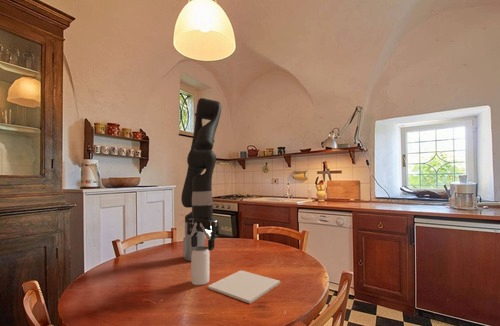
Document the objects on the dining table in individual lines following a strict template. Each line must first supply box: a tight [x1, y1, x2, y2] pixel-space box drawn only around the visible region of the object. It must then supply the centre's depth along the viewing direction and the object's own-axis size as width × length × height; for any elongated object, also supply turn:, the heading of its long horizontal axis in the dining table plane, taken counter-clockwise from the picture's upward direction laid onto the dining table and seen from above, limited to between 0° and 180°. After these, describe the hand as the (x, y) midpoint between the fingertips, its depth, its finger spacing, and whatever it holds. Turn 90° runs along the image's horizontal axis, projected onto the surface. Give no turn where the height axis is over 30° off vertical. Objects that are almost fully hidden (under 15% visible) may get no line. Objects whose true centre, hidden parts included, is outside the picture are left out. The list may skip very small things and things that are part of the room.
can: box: [190, 245, 211, 287], centre depth 89 cm, size 6×6×12 cm
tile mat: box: [207, 269, 281, 304], centre depth 86 cm, size 18×18×1 cm
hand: (202, 248), depth 90 cm, fingers open, 8 cm apart
